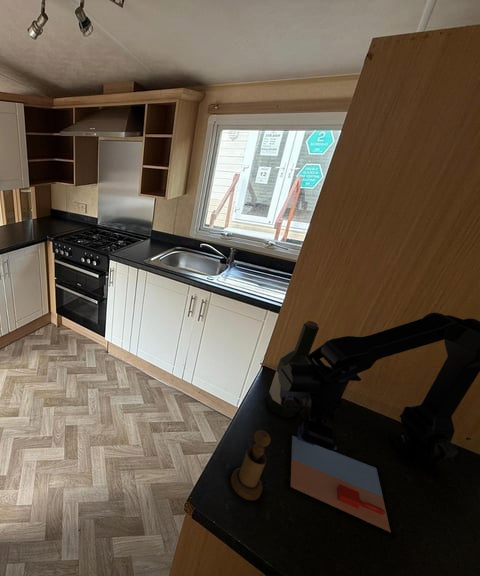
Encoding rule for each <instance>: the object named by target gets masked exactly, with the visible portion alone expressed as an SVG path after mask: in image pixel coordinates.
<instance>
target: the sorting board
mask: <svg viewBox="0 0 480 576" xmlns="http://www.w3.org/2000/svg"><path fill="white" fill-rule="evenodd" d="M339 484H341V485H343V486H346V487H348V488H350V489H353V490H355V491H358V492H359V496H360V499H361V500H363V501H366V502H368V503H370V504H373V505H375V506H377V507H380V508H382V509H383V510H384V511H385V514H384V515H381V514H379V513H377V512H374V511H372V510H370V509H367V508H365V507H363V506H361V505H360V506H359V508H358V509H357V508H355V507H353V506H350V505H348V504H346V503H344V502H341V501H339V500H338V495H337V487H338V486H339ZM290 488H292V489H295V490H297V491H299V492H301V493H302V494H305V495H308V496H309V497H312V498H314V499H317V500H319V501H320V502H323V503H325V504H327V505H330V506H331V507H334V508H337V509H339V510H340V511H343V512H345V513H347V514H349V515H352V516H354V517H357V519H358V518H359V519H360V520H363V521H365V522H366V523H369V524H371V525H373V526H376V527H378V528H381V529H382V530H384V531H387V532H389V533H391V532H392V531H391V526H390V523H389V518H388V513H387V510H386V505H385V501H384V500H385V499H384V496H383V491H382V487H381V482H380V478H379V473H378V469H377V467H375V466H372V465H369V464H367V463H364V462H362V461H359V460H357V459H354V458H352V457H350V456H347V455H344V454H341V453H339V452H336V451H335V450H332V451H330V450H328V449H325V448H323V447H320V446H317V445H314V446H313V445H311V444H308V443H306V442H303V441H301V440H298V439H297V436H295V435H292V436H291V466H290Z"/></svg>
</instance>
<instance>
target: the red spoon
mask: <svg viewBox="0 0 480 576" xmlns="http://www.w3.org/2000/svg"><path fill="white" fill-rule="evenodd" d="M337 495H338V500H339V501H341V502H344V503H346V504H348V505H350V506H353V507H355V508H357V509H358V508H359V506H360V505H361V506H363V507H365V508H367V509H370V510H372V511H374V512H377V513H379V514H381V515H384V514H385V511H384V510H383V509H382V508H380V507H377V506H375V505H373V504H370V503H368V502H366V501H363V500H361V499H360V496H359V492H358V491H355V490H353V489H350V488H348V487H346V486H343V485H341V484H339V486H338V487H337Z"/></svg>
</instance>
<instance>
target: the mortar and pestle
mask: <svg viewBox="0 0 480 576" xmlns="http://www.w3.org/2000/svg"><path fill="white" fill-rule="evenodd" d="M253 436H254V437H253V438H254V441H255V443H254V444H253V445H252V447H249V448H248V449H247V450H246V452H245V456H244V458H243V462H242V465H241V467H237V468H235V469H234V470H233V471H232V474H231V476H230V485H231V487H232V489H233V491H234V492H235V493H236V494H237V495H238V496H240V497H241V498H242V499H244V500H248V501H256V500H258V499H260V497H261V495H262V492H263V488H264V486H263V482H262V479H261V476H262V474H263V471H264V468H265V466H266V464H267V461H268V459H267V456H266V454H265V452H266V449H265V447H268V446H269V445H270V443H271V441H272V440H271V436H270V434H269V433H268V432H267V431H265V430H261V429H259V430H257V431H256V432H255V433H254V435H253Z"/></svg>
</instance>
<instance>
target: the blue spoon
mask: <svg viewBox="0 0 480 576" xmlns="http://www.w3.org/2000/svg"><path fill="white" fill-rule="evenodd" d="M296 437H297V439H298V440H301V441H303V442H305V441H304V440H303V439H302V438H301V425H299V426H298V428H297V436H296ZM306 443H308V442H306ZM308 444H311V445H313V446H314V445H315V444H312V443H308ZM337 449H338V445H336V447H335V449H334V450H333V451H336V450H337Z"/></svg>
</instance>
